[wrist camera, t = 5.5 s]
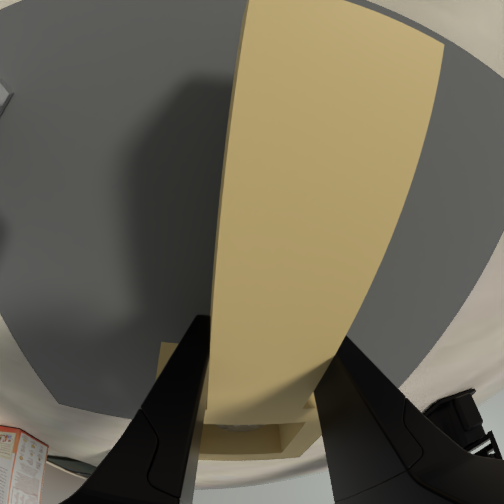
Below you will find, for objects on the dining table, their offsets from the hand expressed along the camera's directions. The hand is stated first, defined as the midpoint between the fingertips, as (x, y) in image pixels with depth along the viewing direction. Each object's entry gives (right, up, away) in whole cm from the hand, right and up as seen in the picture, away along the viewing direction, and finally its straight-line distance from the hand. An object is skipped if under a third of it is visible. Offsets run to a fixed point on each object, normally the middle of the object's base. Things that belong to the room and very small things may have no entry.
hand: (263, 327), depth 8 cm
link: (0, 0, +1) cm, 1 cm away
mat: (-1, 0, +4) cm, 4 cm away
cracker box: (-36, -25, +18) cm, 47 cm away
